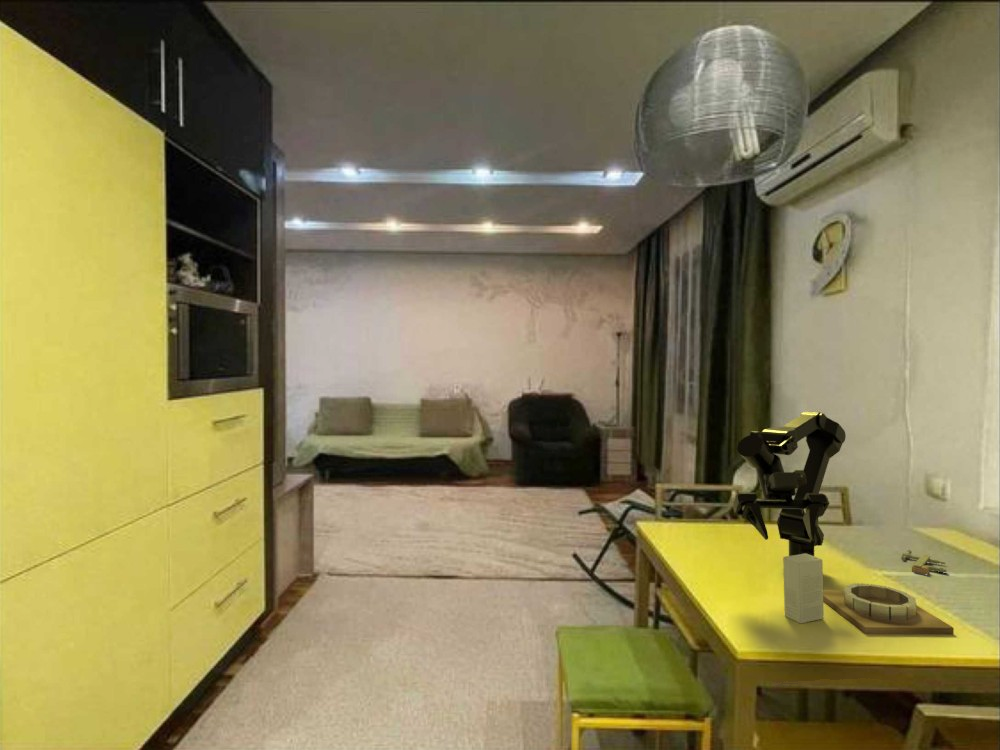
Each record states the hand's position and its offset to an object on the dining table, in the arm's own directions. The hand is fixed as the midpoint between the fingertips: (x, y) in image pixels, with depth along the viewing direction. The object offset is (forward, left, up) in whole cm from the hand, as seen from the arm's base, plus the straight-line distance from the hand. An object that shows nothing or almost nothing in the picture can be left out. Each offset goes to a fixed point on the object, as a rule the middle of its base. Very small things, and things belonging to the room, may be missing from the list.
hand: (789, 539), depth 122 cm
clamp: (-23, +43, -14) cm, 51 cm away
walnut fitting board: (+5, +15, -13) cm, 21 cm away
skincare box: (+7, -1, -14) cm, 16 cm away
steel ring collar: (+5, +15, -12) cm, 20 cm away
